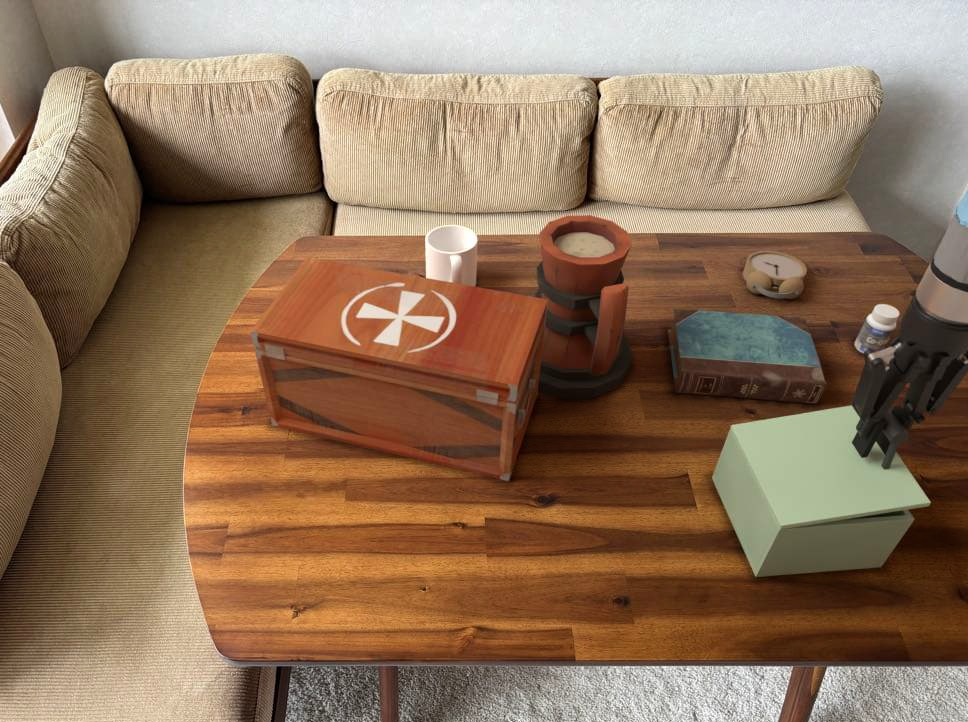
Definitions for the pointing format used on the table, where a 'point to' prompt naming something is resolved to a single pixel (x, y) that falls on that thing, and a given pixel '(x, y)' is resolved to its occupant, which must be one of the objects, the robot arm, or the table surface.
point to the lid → (826, 468)
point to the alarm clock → (774, 274)
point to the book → (745, 356)
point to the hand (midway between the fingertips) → (871, 448)
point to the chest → (799, 528)
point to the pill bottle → (877, 328)
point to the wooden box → (403, 364)
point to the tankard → (583, 307)
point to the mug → (451, 254)
